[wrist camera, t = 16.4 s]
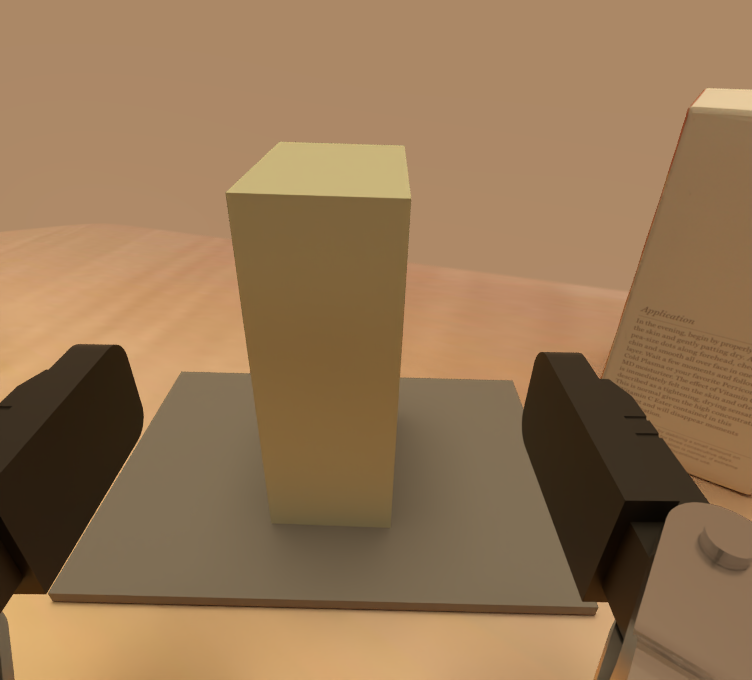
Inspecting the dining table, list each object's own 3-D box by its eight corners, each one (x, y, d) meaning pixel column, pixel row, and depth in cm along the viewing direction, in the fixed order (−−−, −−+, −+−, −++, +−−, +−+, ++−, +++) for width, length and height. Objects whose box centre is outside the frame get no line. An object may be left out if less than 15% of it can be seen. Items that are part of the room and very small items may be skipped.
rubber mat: (52, 601, 14) (47, 593, 14) (182, 378, 24) (181, 371, 23) (594, 614, 14) (598, 607, 14) (511, 387, 24) (512, 380, 23)
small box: (613, 351, 27) (703, 85, 20) (749, 391, 24) (910, 97, 17) (577, 435, 21) (687, 101, 14) (752, 502, 18) (998, 123, 11)
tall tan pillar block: (271, 523, 16) (225, 192, 10) (299, 407, 21) (279, 141, 16) (390, 527, 16) (411, 198, 10) (390, 410, 21) (404, 145, 16)
